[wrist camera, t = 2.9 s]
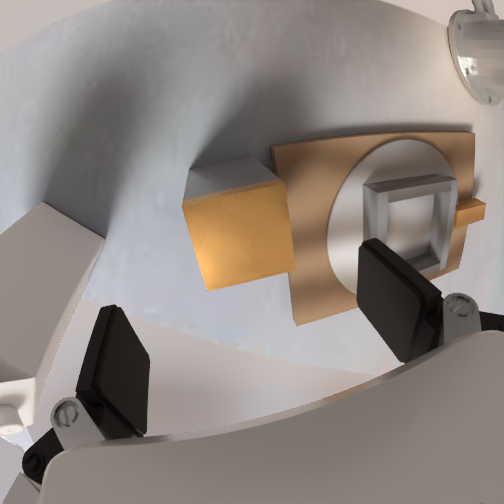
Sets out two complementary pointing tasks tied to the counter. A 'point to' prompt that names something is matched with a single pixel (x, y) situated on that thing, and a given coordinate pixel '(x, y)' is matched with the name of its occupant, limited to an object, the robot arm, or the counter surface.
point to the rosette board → (373, 208)
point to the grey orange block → (238, 222)
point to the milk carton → (37, 304)
